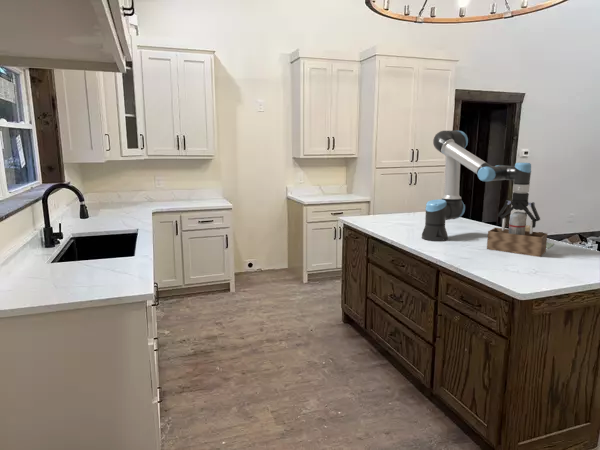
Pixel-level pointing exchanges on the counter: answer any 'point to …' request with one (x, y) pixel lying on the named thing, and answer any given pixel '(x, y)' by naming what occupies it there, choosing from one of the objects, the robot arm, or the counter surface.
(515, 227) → the spray can
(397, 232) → the counter surface
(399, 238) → the counter surface
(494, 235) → the wooden box
